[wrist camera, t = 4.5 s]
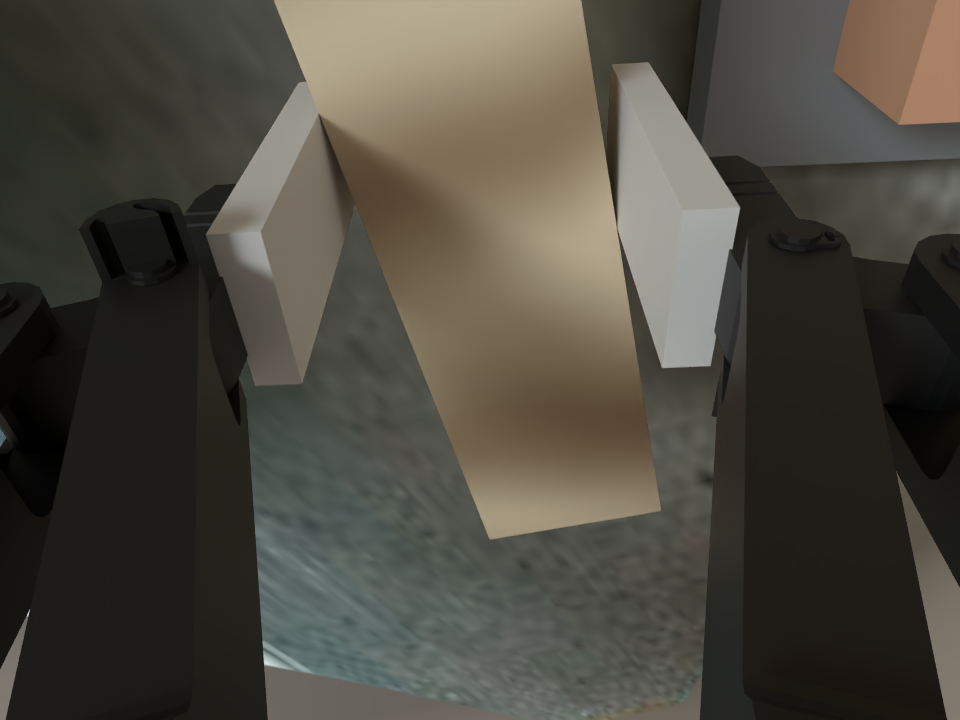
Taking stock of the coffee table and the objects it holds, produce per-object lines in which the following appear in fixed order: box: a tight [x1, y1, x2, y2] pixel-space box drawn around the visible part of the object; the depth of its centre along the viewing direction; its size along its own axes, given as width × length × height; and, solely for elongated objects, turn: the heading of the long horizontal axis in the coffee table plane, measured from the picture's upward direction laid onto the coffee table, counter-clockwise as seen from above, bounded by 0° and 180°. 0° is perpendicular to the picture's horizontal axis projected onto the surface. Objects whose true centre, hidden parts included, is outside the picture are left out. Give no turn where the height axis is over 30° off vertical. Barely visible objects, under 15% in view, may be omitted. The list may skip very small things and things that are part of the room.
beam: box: [274, 0, 661, 540], centre depth 16 cm, size 22×5×5 cm, turn 15°
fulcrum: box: [687, 0, 960, 167], centre depth 22 cm, size 12×10×8 cm
